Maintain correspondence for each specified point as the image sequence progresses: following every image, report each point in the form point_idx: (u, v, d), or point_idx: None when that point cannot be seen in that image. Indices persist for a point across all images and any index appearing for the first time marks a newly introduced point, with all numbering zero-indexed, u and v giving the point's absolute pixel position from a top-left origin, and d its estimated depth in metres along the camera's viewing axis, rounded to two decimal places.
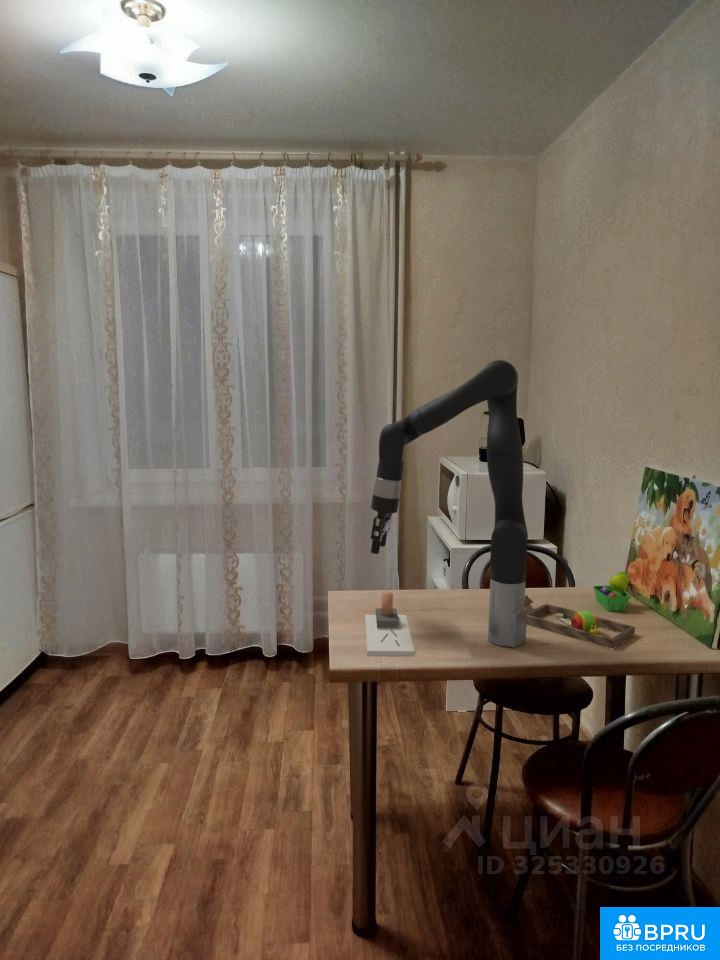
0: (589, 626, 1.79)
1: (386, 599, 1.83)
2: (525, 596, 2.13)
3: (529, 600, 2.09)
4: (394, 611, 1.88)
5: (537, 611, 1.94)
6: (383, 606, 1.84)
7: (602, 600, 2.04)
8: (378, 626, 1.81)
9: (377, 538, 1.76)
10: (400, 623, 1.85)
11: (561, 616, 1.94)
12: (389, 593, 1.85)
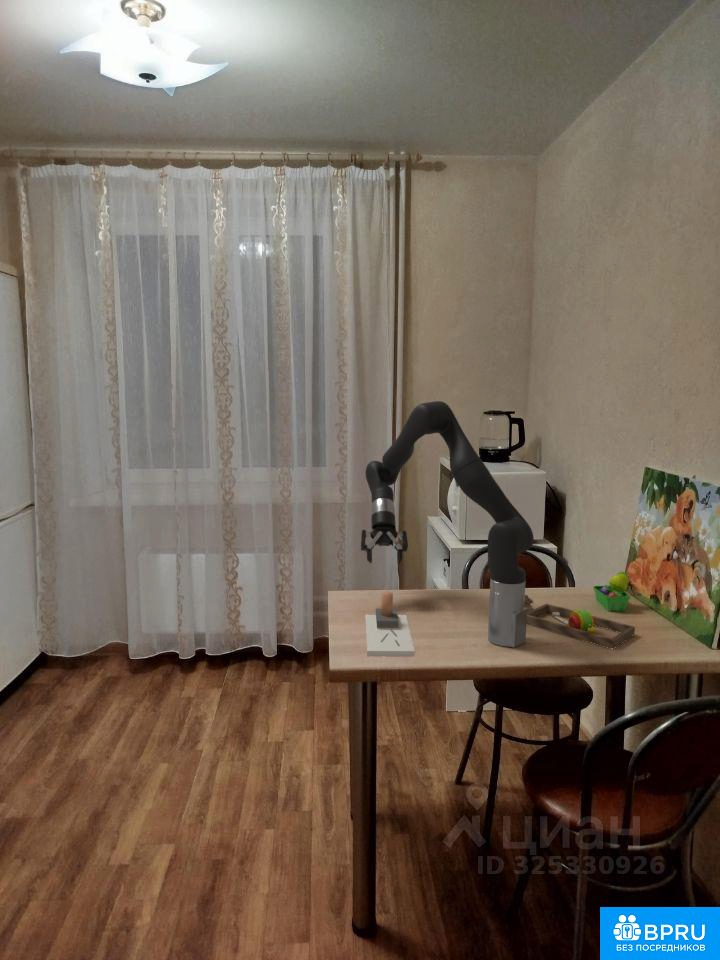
0: (586, 625, 1.80)
1: (386, 599, 1.83)
2: (525, 596, 2.13)
3: (529, 600, 2.09)
4: (394, 611, 1.88)
5: (537, 611, 1.94)
6: (383, 606, 1.84)
7: (602, 600, 2.04)
8: (378, 626, 1.81)
9: (361, 545, 1.97)
10: (400, 623, 1.85)
11: (557, 615, 1.95)
12: (389, 593, 1.85)
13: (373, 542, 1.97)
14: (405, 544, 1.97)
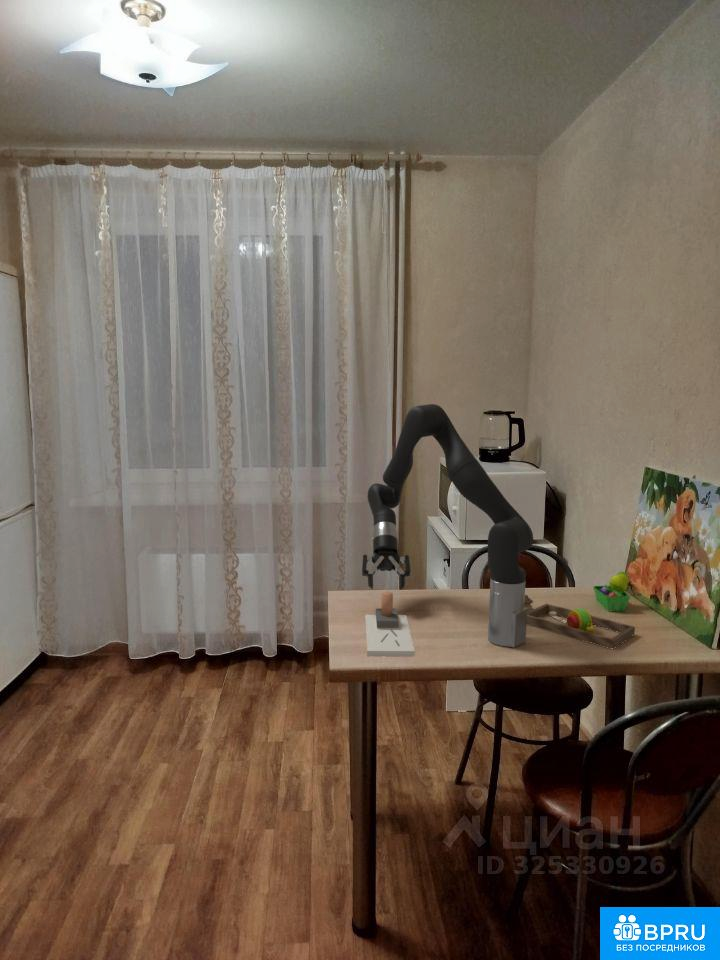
0: (585, 624, 1.81)
1: (386, 599, 1.83)
2: (525, 596, 2.13)
3: (529, 600, 2.09)
4: (394, 611, 1.88)
5: (537, 611, 1.94)
6: (383, 606, 1.84)
7: (602, 600, 2.04)
8: (378, 626, 1.81)
9: (362, 570, 1.92)
10: (400, 623, 1.85)
11: (554, 614, 1.96)
12: (389, 593, 1.85)
13: (374, 567, 1.91)
14: (407, 569, 1.92)
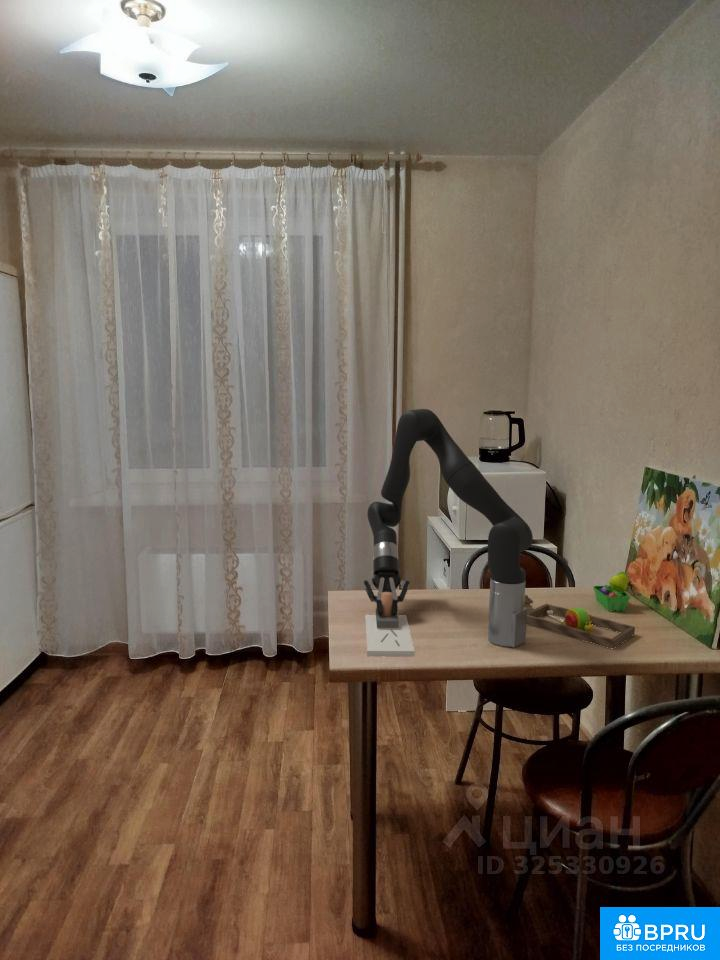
0: (583, 622, 1.82)
1: (386, 599, 1.83)
2: (525, 596, 2.13)
3: (529, 600, 2.09)
4: None
5: (537, 611, 1.94)
6: (383, 606, 1.84)
7: (602, 600, 2.04)
8: (378, 626, 1.81)
9: None
10: (400, 623, 1.85)
11: (551, 613, 1.97)
12: (389, 593, 1.85)
13: (380, 591, 1.86)
14: (400, 594, 1.86)
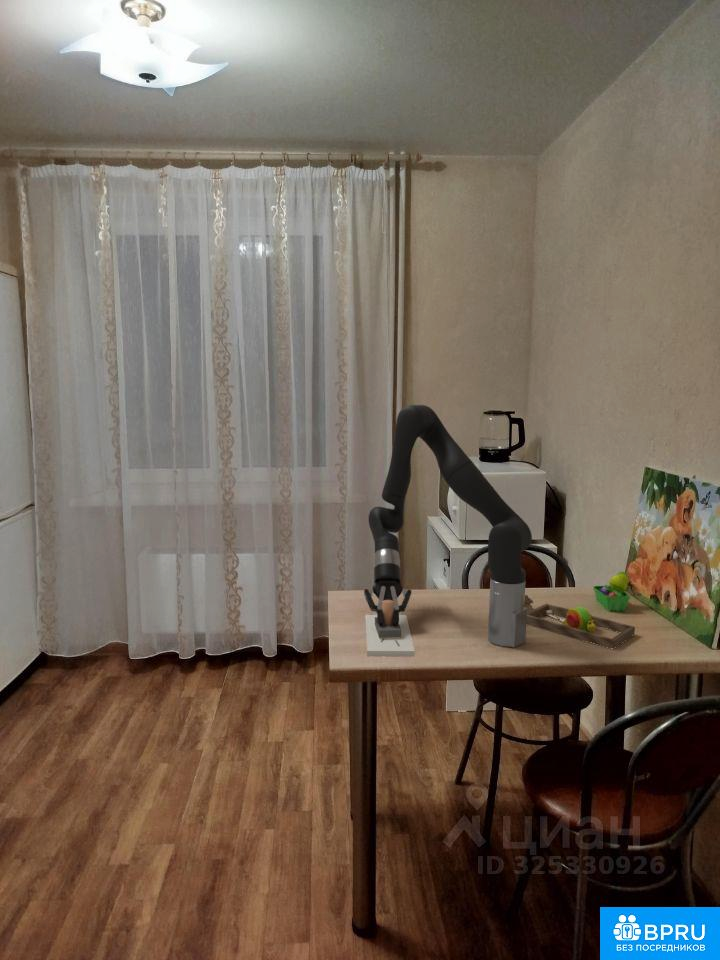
0: (586, 621, 1.82)
1: (387, 608, 1.76)
2: (525, 596, 2.13)
3: (529, 600, 2.09)
4: None
5: (537, 611, 1.94)
6: (384, 615, 1.77)
7: (602, 600, 2.04)
8: (380, 636, 1.74)
9: (370, 606, 1.78)
10: (400, 623, 1.85)
11: (550, 613, 1.97)
12: (390, 601, 1.78)
13: (381, 600, 1.78)
14: (402, 604, 1.78)
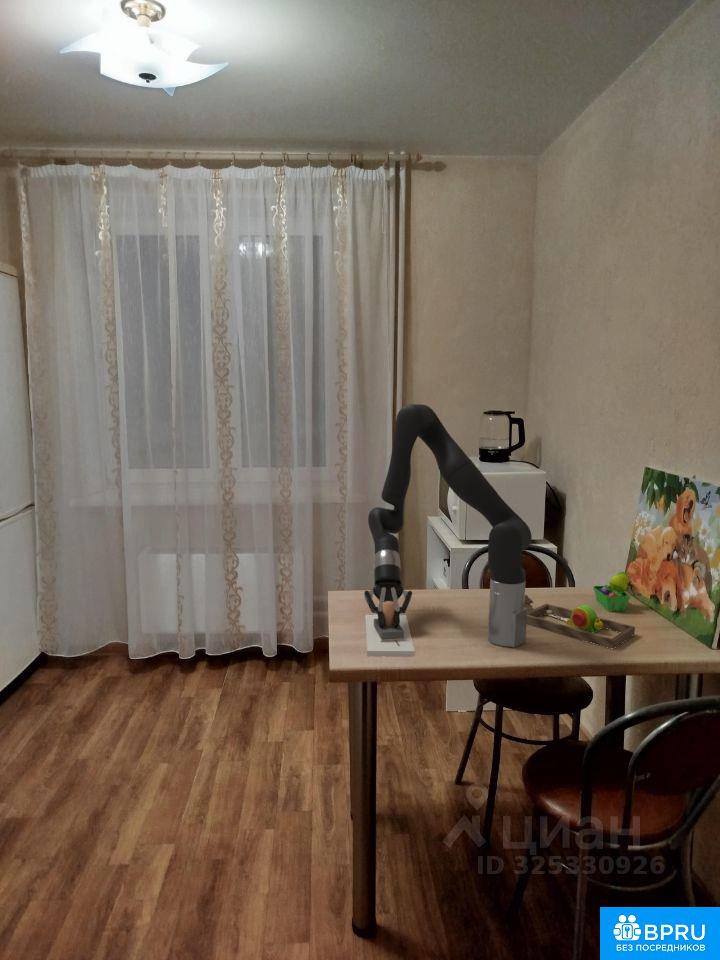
0: (592, 620, 1.84)
1: (388, 609, 1.75)
2: (525, 596, 2.13)
3: (529, 600, 2.09)
4: None
5: (537, 611, 1.94)
6: (385, 617, 1.75)
7: (602, 600, 2.04)
8: (383, 638, 1.72)
9: (371, 607, 1.77)
10: (400, 623, 1.85)
11: (550, 612, 1.97)
12: (391, 602, 1.76)
13: (382, 602, 1.77)
14: (403, 605, 1.77)
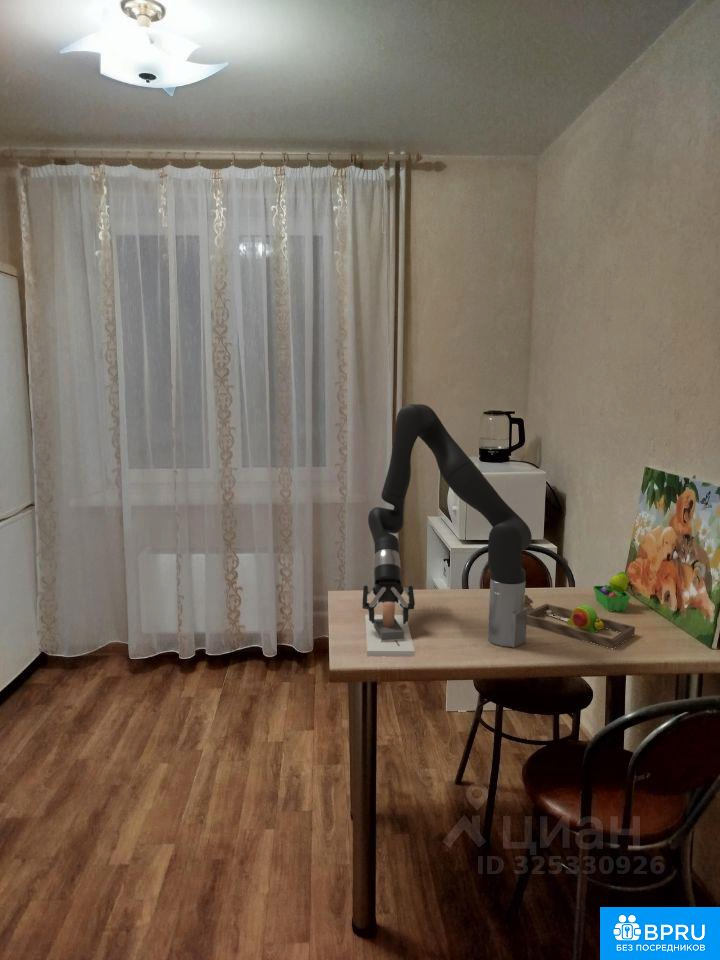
0: (593, 619, 1.84)
1: (388, 610, 1.75)
2: (525, 596, 2.13)
3: (529, 600, 2.09)
4: (394, 621, 1.80)
5: (537, 611, 1.94)
6: (385, 617, 1.75)
7: (602, 600, 2.04)
8: (383, 638, 1.72)
9: None
10: (400, 623, 1.85)
11: (550, 612, 1.97)
12: (391, 603, 1.76)
13: (376, 600, 1.77)
14: (411, 601, 1.77)
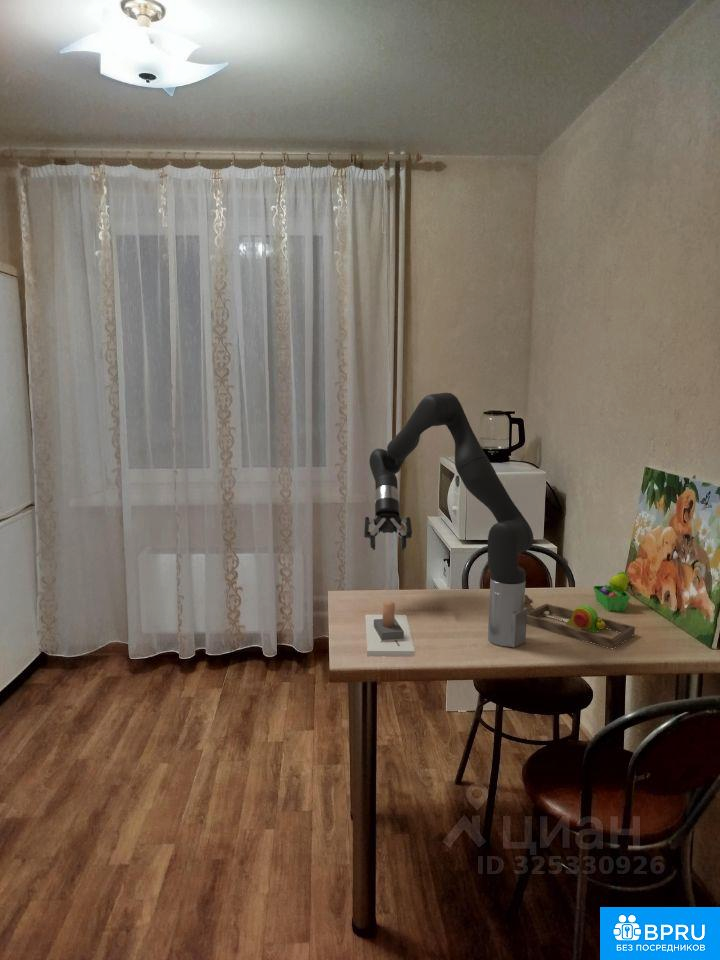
0: (594, 620, 1.84)
1: (388, 610, 1.75)
2: (525, 596, 2.13)
3: (529, 600, 2.09)
4: (394, 621, 1.80)
5: (537, 611, 1.94)
6: (385, 617, 1.75)
7: (602, 600, 2.04)
8: (383, 638, 1.72)
9: (364, 532, 1.94)
10: (400, 623, 1.85)
11: (548, 614, 1.96)
12: (391, 603, 1.76)
13: (376, 529, 1.94)
14: (409, 530, 1.94)
